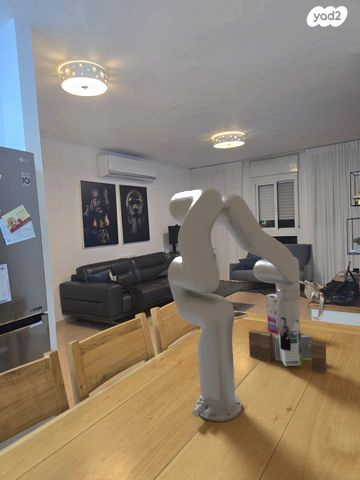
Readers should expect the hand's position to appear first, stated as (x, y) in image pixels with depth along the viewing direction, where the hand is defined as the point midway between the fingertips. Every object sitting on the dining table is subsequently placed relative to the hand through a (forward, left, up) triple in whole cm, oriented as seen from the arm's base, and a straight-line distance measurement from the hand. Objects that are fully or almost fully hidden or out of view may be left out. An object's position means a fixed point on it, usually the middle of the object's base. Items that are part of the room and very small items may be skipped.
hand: (290, 344), depth 106 cm
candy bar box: (+29, +13, -8) cm, 33 cm away
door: (+5, +1, -7) cm, 9 cm away
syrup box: (0, 0, -6) cm, 6 cm away
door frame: (+2, +2, -8) cm, 8 cm away
